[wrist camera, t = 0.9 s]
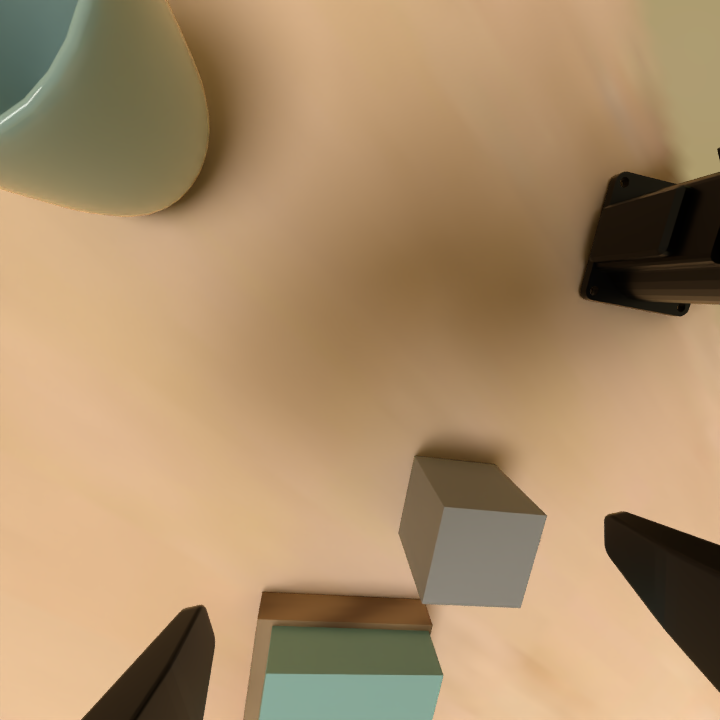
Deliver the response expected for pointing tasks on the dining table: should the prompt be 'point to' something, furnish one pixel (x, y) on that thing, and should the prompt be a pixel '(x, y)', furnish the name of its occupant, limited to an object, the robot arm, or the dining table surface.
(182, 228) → the dining table surface
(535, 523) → the grey cube
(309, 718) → the tower top
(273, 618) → the tower bottom
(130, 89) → the cup
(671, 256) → the robot arm
